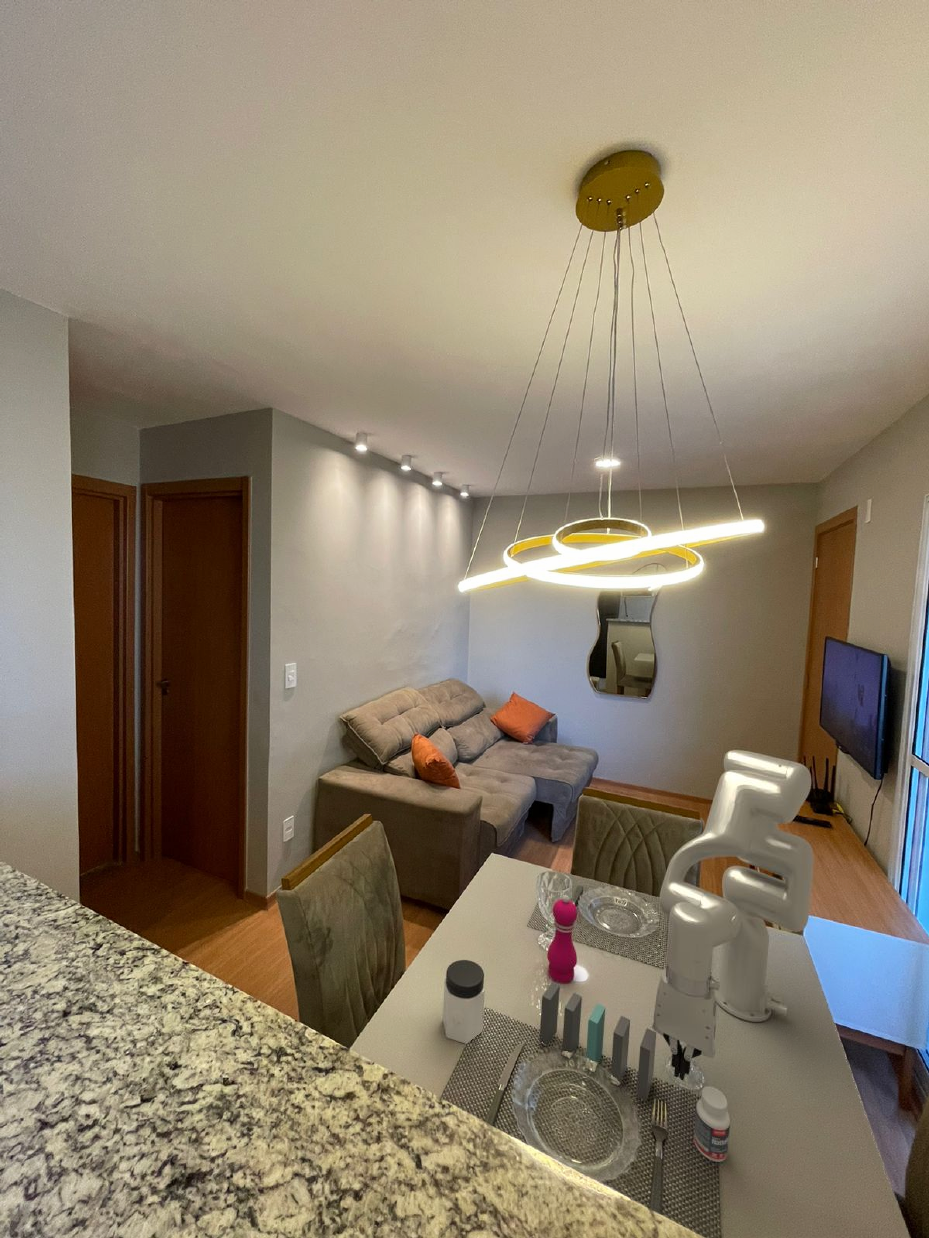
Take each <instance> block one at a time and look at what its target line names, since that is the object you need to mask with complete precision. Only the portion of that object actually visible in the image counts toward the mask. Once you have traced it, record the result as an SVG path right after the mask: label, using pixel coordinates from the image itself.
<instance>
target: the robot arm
mask: <svg viewBox="0 0 929 1238" xmlns="http://www.w3.org/2000/svg"><path fill="white" fill-rule="evenodd" d="M723 769H724V772H723V773H722V774H721V776H720V777H719V780H718V783H717V787H716V789H715V792H714V796H713V800H712V802H711V806H710V810H709V814H708V817H707V819H706V824H705V828H704V830H703V832H702V833H701V834H700V835H698V836H696V837H695V838H693V839H691V840H690V841H688V842H686V843H684V844H683V845H682V846H681V847H680V848H679V849H677V851H676V852H675V854H673V856H672V858H671V859H670V861H669V864H668V866H667V868H666V872H665V875H664V878H663V882H662V884H661V888H660V893H659V899H658V901H659V907H660V910H661V911H662V914H664V915H665V916H666V917H667V918H668V930H667V931H668V932H667V946H666V958H665V959H666V960H665V968H663V969H662V971H661V975H660V977H659V980H658V981H659V982H658V985H657V986H658V987H657V990H656V991H657V992H656V995H655V997H656V998H655V1003H654V1011H653V1023H652V1026H651V1028H652V1029H653V1030H652V1031H654V1032H656V1034H659V1035H660V1036H662V1037H663V1039H664V1040H665V1042H666V1043H667V1045H668V1047H669V1048H670V1052H671V1065H670V1066H671V1067H672V1068H674V1070H673V1071H674V1073H673V1076H674V1077H675V1078H679V1079H680V1080H681V1081H684V1080H685V1077H686V1075H689V1074H690V1071H691V1062H692V1061H691V1060H692V1059H694V1058H697V1057H699V1056H701V1055H702V1056H703V1057H707V1058H710V1059H714V1058H715V1053H716V1049H715V1043H714V1040H715V1039H716V1038H715V1037H716V1027H717V1025H716V1024H717V1004H718V1005H719V1006H720V1008H722V1009H723V1010H724V1011H726V1012H727V1013H729V1014H731V1015H732V1016H734V1017H736V1018H738V1019H742V1020H744V1021H748V1022H755V1023H756V1022H760V1023H761V1022H764V1021H767V1020H769V1018H770V1017H771V1015H772V1011H774V1012H776V1013H778V1014H780V1015H782V1016H785V1017H788V1016H787V1015H788V1006H787V1005H784V1004H782V998H781V997H779V996H774V995H772V994H770V992H769V991H767V990H768V985H767V984H766V983H767V982H766V981H767V971H768V957H769V946H770V945H769V944H770V934H769V931H768V928H767V925H766V922H769V923H771V924H773V925H776V926H778V927H780V928H783V929H785V930H788V931H791V932H796V933H797V932H802V931H803V930H804V929H805V928H806V927H807V924H808V922H809V917H810V908H811V898H812V886H813V876H814V862H815V861H814V860H815V859H814V851H813V848H812V846H811V844H810V843H809V842H808V841H807V840H806V839H804V838H802V837H801V836H798V835H795V834H792V833H789V832H786V831H782V830H780V829H779V827H778V824H782V825H784V824H785V825H786V824H789V823H791V822H792V821H793V820H794V819H795V817H796V816H797V815H798V814H799V812H800V809H802V808H801V807H802V806H803V804H804V803H805V801H806V799H807V798H808V796H809V794H810V792H811V788H812V787H811V786H812V775H811V772H810V770H809V769H808V767H806V766H805V765H803V764H802V763H799V762H795V761H792V760H788V759H783V758H779V757H774V756H770V755H766V754H763V753H757V752H753V751H748V750H740V749H733V750H732V749H731V750H729V751H727V752H726V753H725V755H724V758H723ZM721 857H723V858H724V857H725V858H726V857H737V858H738V859H739V860H740V861H742V862H743V863H745V864H748V865H751V866H754V867H755V868H758V869H761V870H764V871H766V872H767V871H768V872H770V873H773V874H775V875H778V876H781V877H782V878H783V879H784V880H785V881H784V880H782V879H779V878H777V877H774V876H771V875H769V874H766V873H763V872H761V871H758V870H755V869H753V868H749V867H746V866H741V865H731V866H729V867H728V868H726V869H725V871H724V872H723V875H722V879H721V880H722V881H721V889H722V897H721V896H719V895H717V894H714V893H712V892H709V891H707V890H705V889H703V888H700V887H697V886H696V885H693V884H691V883H688V882H686V881H684V880H685V877H686V875H687V872H688V871H689V869H690V868H691V867H692V866H694V865H695V864H697V863H698V862H701V861H703V860H706V859H711V858H721ZM765 921H766V922H765ZM718 946H721V953H720V963H719V964H720V967H719V977H718V978H716V979H714V978H713V977H714V976H713V975H712V967H713V965H712V962H713V951H714V950H713V949H714V948H717V947H718ZM681 1042H682V1043H684V1044H686V1046H684V1047H683V1046H682V1044H681Z"/></svg>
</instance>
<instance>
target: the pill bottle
mask: <svg viewBox="0 0 929 1238" xmlns="http://www.w3.org/2000/svg"><path fill="white" fill-rule="evenodd" d="M730 1118H731V1117H730V1114H729V1111H728V1100H727V1098H726V1096H725V1095H724V1093H723V1092H722V1091H721V1090H719V1089H718V1088H716V1087H713V1086H709V1085H708V1086H705V1087H703V1088H702V1090H701V1097H700V1099H698V1101H697V1103H696V1106H695V1116H694V1130H693V1142H694V1144H695V1147H696V1148H697V1150H698V1151H699V1152H700V1154H701V1155H702V1156H703V1157H704V1158H706V1159H708V1160H709V1161H712V1162H716V1163H721V1162H723V1161H725V1160H726V1159H727V1157H728V1152H729V1141H730V1140H729V1138H730V1129H731V1119H730Z"/></svg>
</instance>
